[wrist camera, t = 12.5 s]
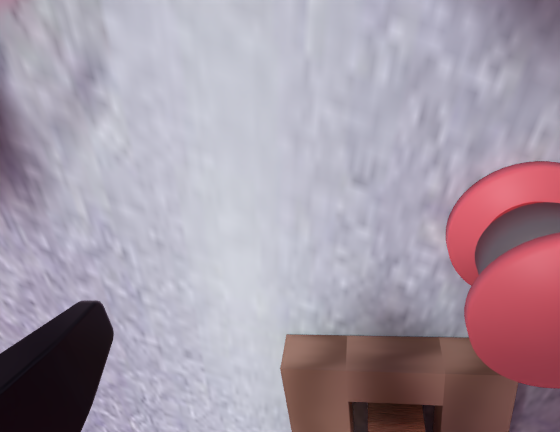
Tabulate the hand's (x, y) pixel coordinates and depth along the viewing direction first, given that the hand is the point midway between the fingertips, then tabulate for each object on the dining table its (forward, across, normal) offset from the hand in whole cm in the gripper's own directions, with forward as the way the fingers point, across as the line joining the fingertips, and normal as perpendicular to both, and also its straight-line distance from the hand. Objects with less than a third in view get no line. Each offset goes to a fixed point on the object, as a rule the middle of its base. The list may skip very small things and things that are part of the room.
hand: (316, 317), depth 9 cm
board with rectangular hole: (+13, -2, +20) cm, 24 cm away
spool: (+13, -8, +7) cm, 17 cm away
